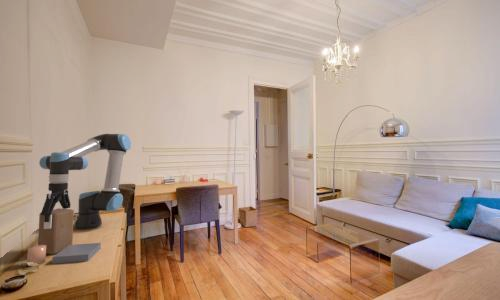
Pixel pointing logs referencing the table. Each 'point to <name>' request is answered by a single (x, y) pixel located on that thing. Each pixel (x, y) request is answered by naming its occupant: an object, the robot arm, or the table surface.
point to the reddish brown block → (37, 254)
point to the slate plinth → (76, 253)
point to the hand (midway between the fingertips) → (56, 224)
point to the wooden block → (57, 231)
